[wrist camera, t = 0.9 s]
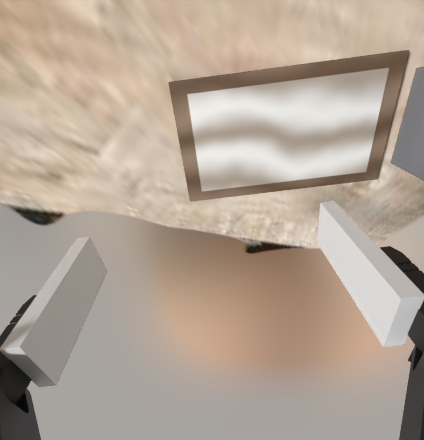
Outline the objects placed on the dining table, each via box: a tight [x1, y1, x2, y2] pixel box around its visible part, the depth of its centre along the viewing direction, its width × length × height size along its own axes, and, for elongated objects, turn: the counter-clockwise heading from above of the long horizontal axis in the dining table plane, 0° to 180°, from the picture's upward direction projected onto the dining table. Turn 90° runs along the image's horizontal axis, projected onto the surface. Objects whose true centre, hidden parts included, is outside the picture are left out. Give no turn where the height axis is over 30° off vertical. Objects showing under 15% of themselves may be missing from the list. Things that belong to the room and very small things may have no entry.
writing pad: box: [169, 50, 409, 201], centre depth 34 cm, size 16×28×1 cm, turn 96°
